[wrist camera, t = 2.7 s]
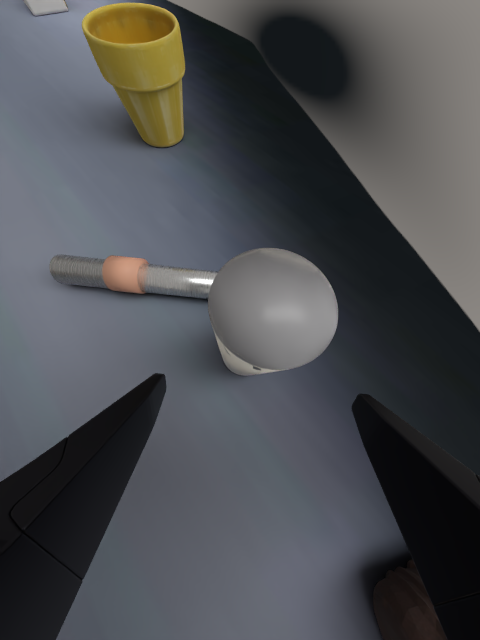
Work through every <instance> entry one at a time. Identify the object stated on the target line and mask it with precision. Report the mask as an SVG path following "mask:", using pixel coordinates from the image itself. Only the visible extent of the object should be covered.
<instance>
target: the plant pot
mask: <svg viewBox="0 0 480 640" xmlns="http://www.w3.org/2000/svg"><path fill="white" fill-rule="evenodd" d="M82 29H83V32H84V35H85V37H86V39H87V42H88V44H89V46H90V49H91V51H92V54H93V56H94V58H95V60H96V62H97V65H98V67H99V69H100V71H101V73H102V75H103V77H104V78H105V79H106V81H107V82H109V83H110V84H111V85H113V87H114V89H115V91H116V92H117V94H118V96H119V98H120V100H121V101H122V103H123V105H124V107H125V109H126V110H127V112H128V114H129V116H130V117H131V119H132V121H133V123H134V125H135V126H136V128H137V130H138V132H139V134H140V136H141V137H142V139H143V140H144V141H145V142H146V143H147V144H149V145H151V146H155V147H169V146H173V145H175V144H177V143H178V142H180V141H181V139H182V138H183V135H184V125H183V101H182V77H183V75H184V72H185V62H184V53H183V46H182V39H181V33H180V27H179V23H178V21H177V19H176V17H175V16H174V15H173V14H172V13H171V12H169V11H167V10H166V9H163V8H161V7H157V6H154V5H149V4H143V3H118V4H111V5H106V6H103V7H100V8H97V9H95V10H93V11H91V12H90V13H88V14H87V15H86V16H85V17H84V19H83V21H82Z"/></svg>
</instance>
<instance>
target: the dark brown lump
mask: <svg viewBox="0 0 480 640" xmlns="http://www.w3.org/2000/svg"><path fill="white" fill-rule="evenodd" d="M373 597H374V599H373V606H374V612H375V615H376V619H377V622H378V625H379V628H380V631H381V634H382V636H383V639H384V640H447V638H446V636H445V633H444V631H443V629H442V627H441V624H440V622H439V620H438V617H437V615H436V613H435V610H434V608H433V605H432V603H431V601H430V598H429V596H428V594H427V591H426V589H425V587H424V584H423V582H422V580H421V577H420V575H419V573H418V570H417V568H416V566H415V564H414V561H413V559H411V560H409V561H408V562H407V568H402V567H397V568H396V569H395V572H394V571H392V570H388V571H387V573H386V577H385V579H383V580H381V581H379V582H378V583H377V584H376V586H375V588H374V593H373Z"/></svg>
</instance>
